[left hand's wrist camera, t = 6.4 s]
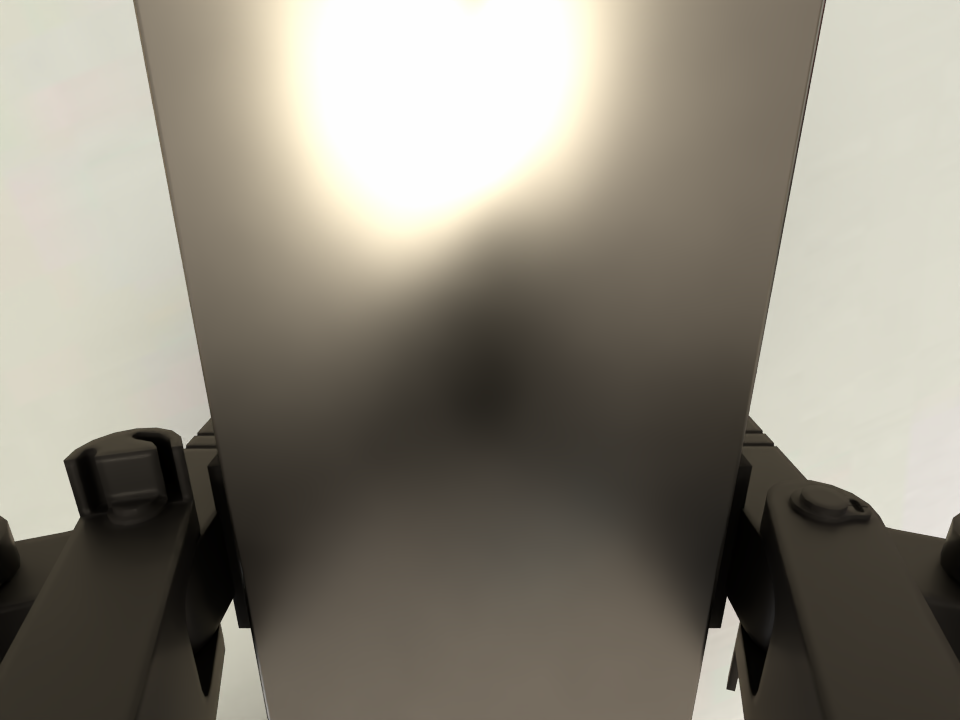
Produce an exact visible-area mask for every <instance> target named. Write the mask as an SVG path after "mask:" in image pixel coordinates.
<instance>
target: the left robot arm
mask: <svg viewBox="0 0 960 720" xmlns="http://www.w3.org/2000/svg"><path fill="white" fill-rule="evenodd" d="M64 464H65V467H66V471H67V474H68V477H69V481H70V484H71V487H72V491H73V494H74V497H75V501H76V504H77V507H78V511H79V514H80V519H79V521H78V522H77V524H76V526H75V528H74V530H72V531H68V532H63V533H58V534H53V535H47V536H42V537H37V538H31V539H26V540H21V541H14V538H13V536H12V533H11V530H10V527H9V524H8V521H7V520H5V519H4V518H3V517H1V516H0V720H216V714H217V707H218V699H219V692H220V684H221V677H222V669H223V662H224V654H225V645H224V638H223V633H222V628H221V624H220V622H221V620H222V619H223V617H224V615H225V613H226V611H227V609H228V607H229V605H230V603H231V601H232V599H233V600H234V606H235V611H236V616H237V621H238V626H239V628H251V627H250V622H249V616H248V611H247V606H246V600H245V595H244V590H243V584H242V579H241V574H240V568H239V563H238V558H237V552H236V547H235V542H234V536H233V531H232V526H231V520H230V515H229V510H228V504H227V499H226V494H225V488H224V483H223V478H222V472H221V467H220V461H219V456H218V451H217V445H216V440H215V435H214V429H213V424H212V419H211V418H210V420H209V421H208V422H207V423H206V424H205V425H204V426H203V427H202V428H201V429H200V431H199V432H198V433H197V436H194V437H193V438H192V439H191V441H190V442H189V443H188V444H187V445H186V449H183V444H182V439H181V436H179V435H178V434H176V433H175V432H173V431H172V430H166V429H161V428H136V429H131V430H126V431H121V432H116V433H112V434H109V435H106V436H104V437H101V438H98V439H95V440H92V441H90V442H89V443H87V444H85V445H83V446H81V447H79V448H77V449H76V450H74V451H73V452H72V453H71V454H70V455H69V456H68V457H67V458H66V459H65V460H64ZM727 597H728V599H729V601H730V603H731V605H732V606H733V608H734V610H735V612H736V614H737V616H738V618H739V620H740V624H739V628H738V633H737V638H736V643H735V647H734V652H733V657H732V662H731V666H730V671H729V676H728V682H727V689H728V690H732V691H735V688H736V684H737V679H738V678H739V683H740V690H741V698H742V705H743V713H744V720H960V513H959V514H958V515H956V516H955V517H954V518H953V520H952V523H951V525H950V528H949V531H948V534H947V537H946V539H944V538H938V537H933V536H928V535H922V534H917V533H912V532H906V531H901V530H896V529H891V528H887V527H885V525H884V523H883V521H882V519H881V518H880V516H879V515H878V514H877V513H876V511H875V510H874V509H873V508H872V507H871V506H870V505H869V504H868V503H867V502H865V501H863V500H862V499H860V498H859V497H857V496H856V495H854V494H853V493H850V492H848V491H845V490H843V489H840V488H838V487H835V486H833V485H829V484H825V483H821V482H816V481H812V480H807V479H806V478H805V477H804V476H803V475H802V474H801V472H800V471H799V470H798V469H797V468H796V467H795V466H794V465H793V464H792V463H791V461H790V460H789V459H788V458H787V457H786V456H785V455H784V454H783V453H782V452H781V450H780V449H779V448H778V447H777V446H774V443H773V442H772V441H771V439H770V438H769V437H768V436H767V435H766V434H763V431H762V430H761V428H760V427H759V426H758V425H757V424H756V423H755V422H754V421H753V420H752V419H751V417H750V416H748V420H747V426H746V431H745V436H744V442H743V447H742V452H741V458H740V463H739V469H738V474H737V479H736V485H735V490H734V495H733V501H732V506H731V511H730V517H729V522H728V527H727V533H726V538H725V543H724V549H723V554H722V559H721V565H720V570H719V576H718V581H717V586H716V592H715V597H714V602H713V608H712V613H711V618H710V624H709V628H721V624H722V619H723V614H724V608H725V603H726V598H727Z"/></svg>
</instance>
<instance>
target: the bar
mask: <svg viewBox="0 0 960 720" xmlns="http://www.w3.org/2000/svg"><path fill="white" fill-rule="evenodd" d="M133 2H134V8H135V13H136V18H137V24H138V29H139V34H140V40H141V45H142V50H143V56H144V61H145V66H146V72H147V77H148V82H149V88H150V93H151V98H152V104H153V109H154V114H155V120H156V125H157V130H158V136H159V141H160V146H161V152H162V157H163V162H164V168H165V173H166V178H167V184H168V189H169V194H170V200H171V205H172V210H173V216H174V221H175V226H176V232H177V237H178V243H179V248H180V253H181V259H182V264H183V269H184V275H185V280H186V285H187V291H188V296H189V301H190V307H191V312H192V317H193V323H194V328H195V333H196V339H197V344H198V349H199V355H200V360H201V365H202V371H203V376H204V381H205V387H206V392H207V397H208V403H209V408H210V413H211V419H212V424H213V429H214V435H215V440H216V445H217V451H218V456H219V461H220V467H221V472H222V478H223V483H224V488H225V494H226V499H227V504H228V510H229V515H230V520H231V526H232V531H233V536H234V542H235V547H236V552H237V558H238V563H239V568H240V574H241V579H242V584H243V590H244V595H245V600H246V606H247V611H248V616H249V622H250V627H251V632H252V638H253V643H254V648H255V654H256V659H257V664H258V670H259V675H260V680H261V686H262V691H263V696H264V702H265V707H266V713H267V718H268V720H692V715H693V709H694V704H695V699H696V693H697V688H698V683H699V677H700V672H701V666H702V661H703V656H704V650H705V645H706V640H707V634H708V629H709V624H710V618H711V613H712V608H713V602H714V597H715V592H716V586H717V581H718V576H719V570H720V565H721V559H722V554H723V549H724V543H725V538H726V533H727V527H728V522H729V517H730V511H731V506H732V501H733V495H734V490H735V485H736V479H737V474H738V469H739V463H740V458H741V452H742V447H743V442H744V436H745V431H746V426H747V420H748V415H749V410H750V404H751V399H752V394H753V388H754V383H755V378H756V372H757V367H758V362H759V356H760V351H761V345H762V340H763V335H764V329H765V324H766V319H767V313H768V308H769V303H770V297H771V292H772V287H773V281H774V276H775V271H776V265H777V260H778V255H779V249H780V244H781V238H782V233H783V228H784V222H785V217H786V212H787V206H788V201H789V196H790V190H791V185H792V180H793V174H794V169H795V164H796V158H797V153H798V148H799V142H800V137H801V131H802V126H803V121H804V115H805V110H806V105H807V99H808V94H809V89H810V83H811V78H812V73H813V67H814V62H815V57H816V51H817V46H818V40H819V35H820V30H821V24H822V19H823V14H824V8H825V3H826V0H133Z"/></svg>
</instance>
